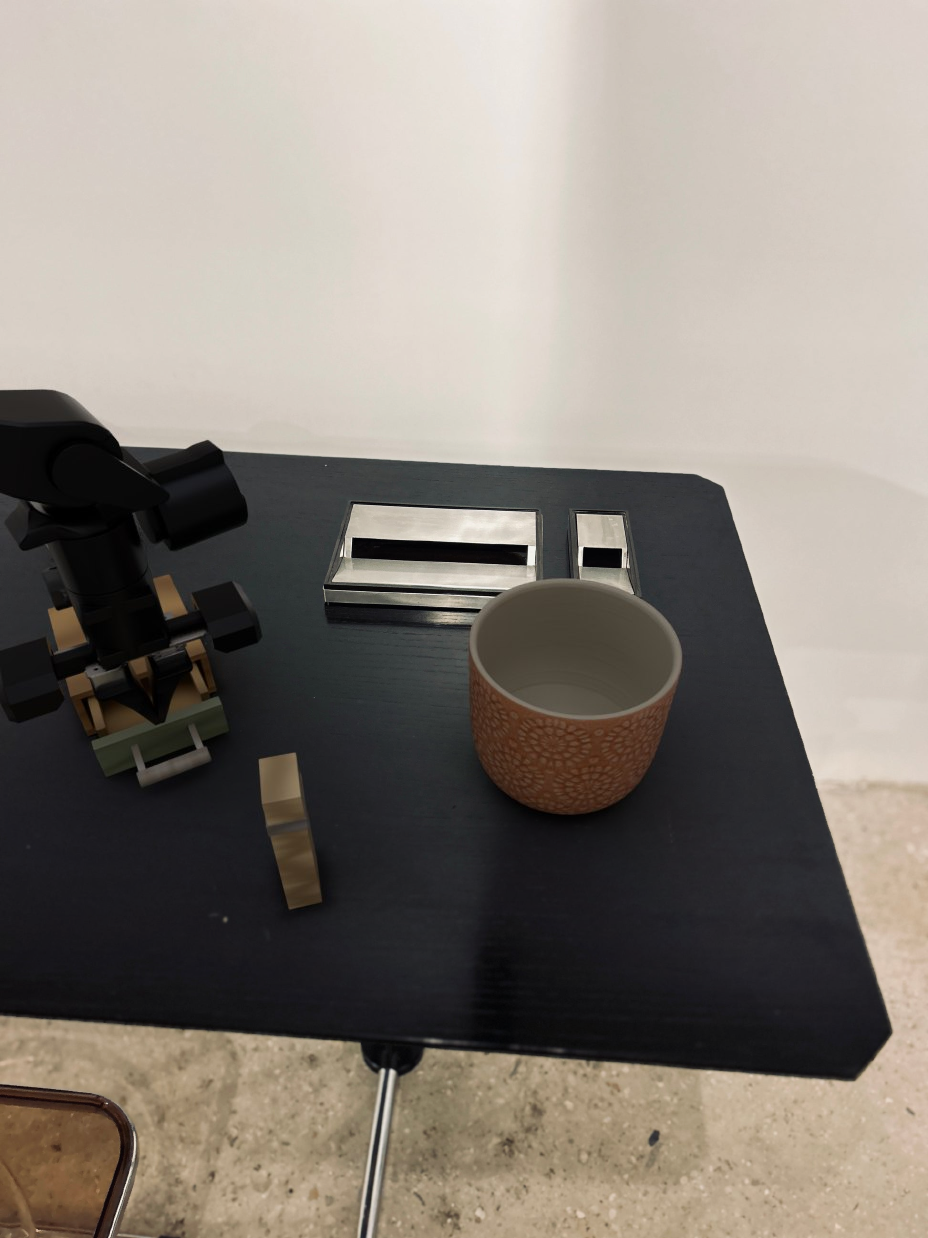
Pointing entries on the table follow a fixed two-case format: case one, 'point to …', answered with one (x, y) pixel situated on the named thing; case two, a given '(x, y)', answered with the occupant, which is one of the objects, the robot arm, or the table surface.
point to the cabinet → (80, 686)
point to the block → (290, 829)
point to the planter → (570, 692)
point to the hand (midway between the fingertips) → (159, 720)
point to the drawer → (158, 731)
